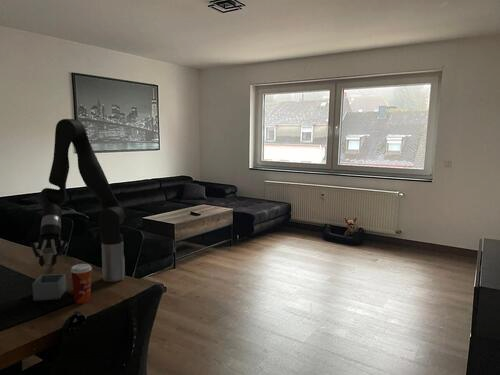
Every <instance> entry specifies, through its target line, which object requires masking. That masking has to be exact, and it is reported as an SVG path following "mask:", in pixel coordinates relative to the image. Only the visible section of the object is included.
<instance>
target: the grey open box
mask: <svg viewBox="0 0 500 375" xmlns="http://www.w3.org/2000/svg"><path fill="white" fill-rule="evenodd" d="M31 285H32V301H34V302H36V301H38V302H39V301H51V300H52V301H53V300H54V299H55V300H60V299H61V298H62V296H63V295H64V293H65V292H66V291H67V278H66V273H58V274H57V273H55V274H54V273H52V274H48V275H46V274H40V276H38V278H36V280H34V282H32V284H31ZM55 300H54V301H55Z"/></svg>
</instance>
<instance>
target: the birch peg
mask: <svg viewBox="0 0 500 375" xmlns="http://www.w3.org/2000/svg"><path fill="white" fill-rule="evenodd" d="M52 257H53V248H44V249H43V266H42V267H43V275H50V274H54V272H55V271H54V266H53V265H52Z"/></svg>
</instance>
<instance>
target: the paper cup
mask: <svg viewBox="0 0 500 375" xmlns="http://www.w3.org/2000/svg"><path fill="white" fill-rule="evenodd" d="M92 270H93V267H92V266H91V265H90V264H89V263H78V264H75V265H72V266H71V269H70V273H71V280H72V288H73V298H74V303H75V304H85V303H88V302H90V300H91V293H92V292H91V285H92V284H91V283H92Z"/></svg>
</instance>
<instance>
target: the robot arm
mask: <svg viewBox="0 0 500 375" xmlns="http://www.w3.org/2000/svg"><path fill="white" fill-rule="evenodd" d="M71 144H72V145H73V147H74V149H75V152H76V155H77V167H78V173H79V175H80V178H82V180H83V181H82V182H83V183H84V185H85V187H87V189H88V190H89V191H90V192H91V193H92V194H93V196H95V197H96V198H97V200H98V202H99V203H100V204H99V205H100V206H101V208H102V210H101V211H100V213H99V215H98V231H99V238H100V241H101V263H102V264H101V265H102V266H101V267H102V268H101V269H102V272H101V273H102V281H103V282H108V283H114V282H118V281H124V278H125V276H126V270H125V269H126V268H125V266H126V265H125V261H126V260H125V255H124V235H123V234H121V224H122V223H123V222H124V220H125V212H124V210H123V207H122V206H121V205H120V203H119V201H118V199H117V198H116V196H115V194H114V192H113V189H112V187H111V186H110V183H109V181H108V179H107V176H106V173H105V172H104V170H103V168H102V166H101V164H100V162H99V160H98V158H97V156H96V153H95V151H94V149H93V146H92V144H91V142H90V139H89V136H88V133H87V131H86V128H85V126H84V124H83V122H81V121H80V120H78V119H74V118H63V119H60V120H59V121H58V122H57V123H56V126H55V131H54V148H53V156H52V158H53V159H52V164H51V167H50V173H49V176H48V183H49V184H51V185H54V186H56V187H58V188H59V189H58V188H57V189H56V188H50V187H45V188H42V190H41V191H40V194H39V199H40V204H41V207H42V217H41V218H42V219H41V224H40V231H39V233H40V234H39V239H38V241H36V242H31V243H30V247H31V250H32V252H33V255H34V257H35V258H38V259H39V260H38V264H39V266H40V267H44V266H43V249H44V248H53V257H52V265H53V267H54V266H55V265H56V264H57V262H58V261H57V260H58V257H59V256H61V257H62V256H63V254H64V252H65V250H66V248H67V247H68V241H67V240H62V239H61V230H62V220H61V219H62V208H61V207H60V206H63V205H64V204H66V201H67V198H68V197H67V180H68V176H69V172H70V158H69V150H70V146H71ZM59 246H60V248H59V250H58V251H57V248H58V247H59ZM38 247H40V252H38V250H37V248H38Z"/></svg>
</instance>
